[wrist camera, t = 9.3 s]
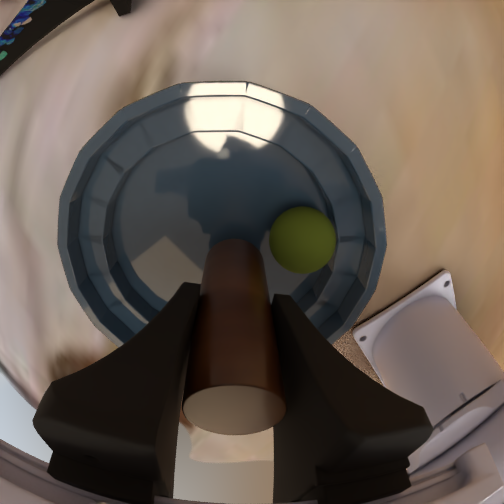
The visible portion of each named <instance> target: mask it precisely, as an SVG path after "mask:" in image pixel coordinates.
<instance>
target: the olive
mask: <svg viewBox="0 0 504 504" xmlns="http://www.w3.org/2000/svg"><path fill="white" fill-rule="evenodd" d="M269 245H270V249H271V252H272V255H273V257H274V258H275V260H276V261H277V262H278V263H279V264H280V265H281V266H282V267H283V268H285V269H286V270H288V271H291V272H294V273H299V274H306V273H312V272H315V271H317V270H319V269H321V268H322V267H323V266H325V265H326V264H327V263H328V261H329V260H330V259H331V257H332V255H333V253H334V250H335V246H336V234H335V230H334V227H333V225H332V223H331V222H330V220H329V219H328V218H327V217H326V216H325V215H324V214H323V213H322V212H320V211H319V210H316V209H314V208H311V207H306V206H300V207H294V208H291V209H288V210H286V211H285V212H283V213H282V214H281V215H280V216H279V217H278V218H277V219H276V220H275V222H274V223H273V225H272V228H271V230H270V235H269Z"/></svg>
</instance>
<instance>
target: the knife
mask: <svg viewBox="0 0 504 504" xmlns="http://www.w3.org/2000/svg"><path fill="white" fill-rule="evenodd" d="M93 1H95V0H28V1H27V3H26V4H25V5H24V7H23V8H22V9H21V11H20V12H19V13H18V14H17V16H16V17H15V18H14V20H13V21H12V22H11V23H10V25H9V26H8V27H7V28H6V30H5V31H4V32H3V33H2V35H1V36H0V76H1V75H2V74H3V73H4V72H5V71H6V70H7V69H8V68H9V67H10V66H11V65H12V64H13V63H14V62H15V61H16V60H17V59H18V58H19V57H21V56H22V55H23V54H24V53H25V52H26V51H27V50H28V49H30V48H31V47H32V46H33V45H34V44H36V43H37V42H38V41H39V40H41V39H42V38H43V37H44V36H46V35H47V34H48V33H50V32H51V31H52V30H53V29H55V28H56V27H57V26H59V25H60V24H61V23H62V22H64V21H65V20H67V19H68V18H69V17H71V16H72V15H74V14H75V13H76V12H78V11H79V10H81V9H82V8H84V7H85V6H87V5H88V4H90V3H91V2H93ZM110 1H111V3H112V5H113V6H114V8H115V10H116V12H117V13H118V15H119V16H121V15H124V14H127V13H130V10H131V0H110Z"/></svg>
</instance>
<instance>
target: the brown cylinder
mask: <svg viewBox="0 0 504 504" xmlns="http://www.w3.org/2000/svg"><path fill="white" fill-rule="evenodd" d="M182 411H183V414H184V415H185V417H186V418H187V419H188V420H189V421H190V422H191V423H192V424H194V425H195V426H197V427H199V428H201V429H203V430H206V431H209V432H213V433H217V434H224V435H247V434H253V433H257V432H261V431H264V430H267V429H269V428H271V427H273V426H274V425H276V424H277V423H279V422H280V421H281V420H282V419H283V417H284V416H285V414H286V411H287V403H286V397H285V390H284V384H283V377H282V371H281V365H280V358H279V352H278V346H277V339H276V333H275V327H274V321H273V315H272V308H271V302H270V296H269V290H268V284H267V278H266V272H265V266H264V260H263V257H262V254H261V253H260V251H259V250H258V249H257V247H255V246H254V245H253V244H251V243H250V242H247V241H245V240H241V239H227V240H224V241H221V242H219V243H217V244H216V245H215V246H213V247H212V248H211V249H210V251H209V252H208V254H207V256H206V260H205V265H204V270H203V276H202V281H201V288H200V297H199V303H198V309H197V315H196V319H195V323H194V327H193V333H192V339H191V345H190V352H189V358H188V365H187V372H186V378H185V386H184V393H183V400H182Z"/></svg>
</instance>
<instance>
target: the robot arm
mask: <svg viewBox="0 0 504 504" xmlns="http://www.w3.org/2000/svg"><path fill="white" fill-rule="evenodd" d="M200 288H201V284H197V283H190V282H184V283H182V284H181V286H180V287H179V289H178V290H177V291H176V293H175V294H174V295H173V297H172V298H171V299H170V300H169V302H168V303H167V304H166V305H165V306H164V307H163V308H162V309H161V311H160V312H159V313H158V314H157V315H156V316H155V317H154V318H153V319H152V320H151V321H150V322H149V323H148V324H147V325H146V326H145V327H144V328H143V329H141V330H140V331H139V332H138V333H137V334H136V335H135V336H133V337H132V338H131V339H130V340H128V341H127V342H126V343H124V344H123V345H122V346H120V347H119V348H117V349H116V350H115V351H113V352H112V353H110V354H109V355H107V356H105V357H104V358H102V359H100V360H98V361H97V362H95V363H93V364H91V365H90V366H88V367H86V368H84V369H82V370H80V371H78V372H75V373H73V374H71V375H68V376H66V377H63V378H61V379H58V380H56V381H53V382H52V383H51V384H50V386H49V388H48V389H47V391H46V392H45V394H44V396H43V398H42V400H41V402H40V404H39V406H38V409H37V411H36V413H35V416H34V418H33V425H34V428H35V429H36V431H37V433H38V434H39V435H40V436H41V438H42V439H43V440H44V441H45V442H46V444H47V445H48V446H49V447H50V448H51V449H52V450H53V453H52V456H51V459H50V463H47V462H44V461H42V460H40V459H38V458H36V457H34V456H32V455H29V454H27V453H25V452H23V451H21V450H19V449H17V448H16V447H14V446H12V445H10V444H8V443H6V442H5V441H3V440H1V439H0V504H224V503H208V502H197V501H188V500H180V499H173V489H174V472H175V458H176V446H177V436H178V426H179V417H180V408H181V401H182V396H183V391H184V386H185V378H186V372H187V365H188V358H189V352H190V345H191V339H192V333H193V327H194V323H195V319H196V315H197V309H198V303H199V297H200ZM271 308H272V315H273V321H274V327H275V333H276V339H277V346H278V352H279V358H280V365H281V371H282V377H283V384H284V390H285V397H286V403H287V411H286V414H285V416H284V417H283V419H282V420H281V421H280V422H279V423H277V424H276V425H274V426H273V431H274V488H273V504H504V372H503V370H502V369H501V367H500V366H499V364H498V363H497V362H496V360H495V359H494V357H493V356H492V355H491V353H490V352H489V351H488V349H487V348H486V347H485V345H484V344H483V343H482V341H481V340H480V339H479V337H478V336H477V335H476V334H475V332H474V331H473V330H472V328H471V327H470V326H469V325H468V323H467V322H466V321H465V320H464V319H463V317H462V316H461V315H460V314H459V312H458V311H457V307H456V301H455V295H454V289H453V284H452V279H451V274H450V273H449V272H448V271H447V270H443V271H442V272H440V273H439V274H437V275H436V276H435V277H433V278H432V279H430V280H429V281H428V282H426V283H425V284H423V285H422V286H420V287H419V288H418V289H416V290H415V291H413V292H412V293H410V294H409V295H407V296H406V297H404V298H403V299H401V300H400V301H398V302H397V303H395V304H393V305H392V306H390V307H389V308H387V309H386V310H384V311H382V312H381V313H379V314H378V315H376V316H374V317H373V318H371V319H369V320H368V321H366V322H364V323H363V324H361V325H359V326H357V327H356V328H355V329H354V330H353V332H352V334H353V337H354V339H355V340H356V342H357V343H358V345H359V346H360V348H361V350H362V351H363V353H364V354H365V356H366V358H367V359H368V361H369V362H370V364H371V366H372V367H373V369H374V371H375V372H376V374H377V375H378V377H379V379H380V380H381V382H382V384H383V385H384V387H383V386H382V385H380V384H379V383H377V382H376V381H374V380H373V379H371V378H370V377H369V376H367V375H366V374H364V373H363V372H362V371H360V370H359V369H358V368H357V367H355V366H354V365H353V364H352V363H351V362H349V361H348V360H347V359H346V358H345V357H344V356H343V355H341V354H340V353H339V352H338V351H337V350H336V349H335V348H334V347H333V346H332V345H331V344H330V343H329V342H328V341H327V340H326V338H325V337H324V336H323V335H322V334H321V333H320V332H319V331H318V330H317V328H316V327H315V326H314V325H313V324H312V322H311V321H310V320H309V319H308V317H307V316H306V315H305V314H304V312H303V311H302V310H301V309H300V307H299V306H298V305H297V303H296V302H295V301H294V299H293V298H292V297H291V296H290V295H284V294H275V293H274V297H273V300H272V304H271ZM362 336H363V337H362ZM406 468H407V470H406Z"/></svg>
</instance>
